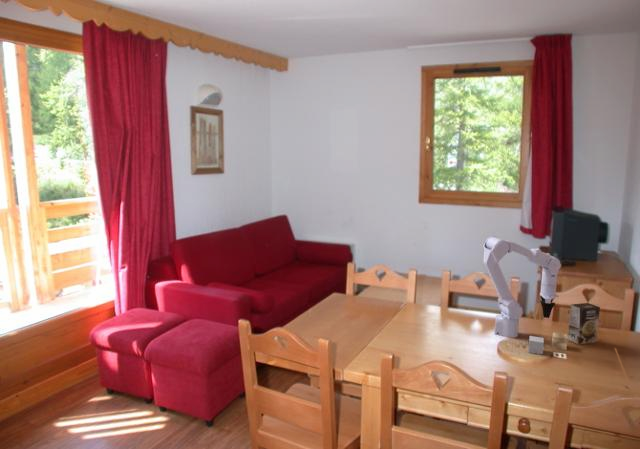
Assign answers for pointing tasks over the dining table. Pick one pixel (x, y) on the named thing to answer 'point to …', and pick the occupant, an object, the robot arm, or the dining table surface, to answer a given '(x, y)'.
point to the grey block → (536, 345)
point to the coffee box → (583, 323)
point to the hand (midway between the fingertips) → (546, 314)
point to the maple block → (559, 341)
